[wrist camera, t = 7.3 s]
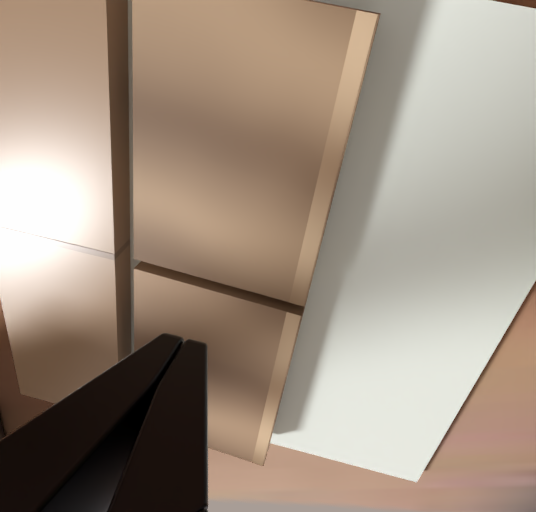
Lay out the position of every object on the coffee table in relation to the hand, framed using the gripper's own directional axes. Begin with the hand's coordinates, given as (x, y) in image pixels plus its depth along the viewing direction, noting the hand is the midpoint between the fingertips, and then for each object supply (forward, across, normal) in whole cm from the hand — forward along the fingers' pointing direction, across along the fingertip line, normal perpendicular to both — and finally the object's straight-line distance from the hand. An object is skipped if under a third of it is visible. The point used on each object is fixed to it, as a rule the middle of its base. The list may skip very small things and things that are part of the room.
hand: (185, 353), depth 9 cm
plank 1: (+10, +1, -1) cm, 10 cm away
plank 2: (+10, +1, +10) cm, 14 cm away
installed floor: (+11, 0, +5) cm, 12 cm away
